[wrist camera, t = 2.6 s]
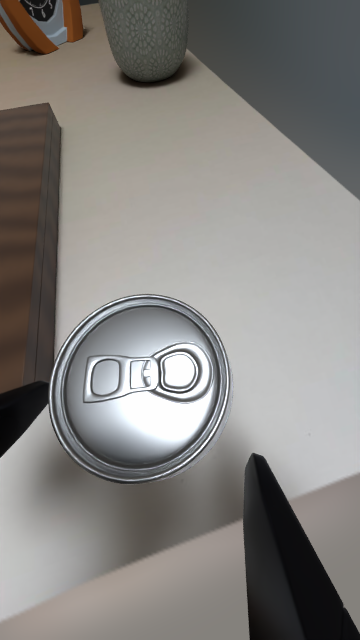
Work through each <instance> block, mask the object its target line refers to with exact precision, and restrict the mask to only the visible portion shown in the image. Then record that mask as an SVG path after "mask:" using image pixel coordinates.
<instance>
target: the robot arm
mask: <svg viewBox="0 0 360 640" xmlns="http://www.w3.org/2000/svg"><path fill="white" fill-rule="evenodd" d="M48 392H49V382H46V381H43V380H39V381H36V382H33V383H30V384H27V385H24V386H21V387H18V388H15V389H12V390H9V391H6V392H3V393H0V458H1V457H2V456H3V455H4V453H5V452H6V451H7V450H8V449H9V448H10V447H11V446H12V445H13V444H14V443H15V442H16V441H17V440H18V439H19V438H20V437H21V436H22V434H23V433H24V432H25V431H26V430H27V429H28V427H29V426H30V425H31V424H32V423H33V421H34V420H35V419H36V418H37V416H38V415H39V414H40V413H41V411H42V410H43V409H44V408H45V407H46V405H47V404H48ZM243 527H244V528H243V530H244V546H245V547H244V548H245V564H246V582H247V599H248V617H249V635H250V640H360V634H359V632H358V630H357V628H356V626H355V624H354V623H353V621H352V619H351V617H350V615H349V613H348V611H347V610H346V608H343V602H342V600H341V599H340V597H339V595H338V593H337V591H336V589H335V587H334V586H333V584H332V582H331V580H330V578H329V576H328V574H327V573H326V571H325V569H324V567H323V565H322V563H321V562H320V560H319V558H318V556H317V554H316V552H315V551H314V548H313V547H312V545H311V543H310V541H309V540H308V537H307V535H306V534H305V532H304V530H303V528H302V526H301V524H300V523H299V521H298V519H297V517H296V515H295V513H294V511H293V510H292V508H291V506H290V504H289V502H288V500H287V498H286V497H285V495H284V493H283V491H282V489H281V487H280V485H279V484H278V482H277V480H276V478H275V476H274V474H273V472H272V471H271V469H270V467H269V465H268V463H267V461H266V459H265V458H264V457H263V456H261V455H258V454H255V453H252V454H251V456H250V458H249V460H248V462H247V465H246V467H245V479H244V509H243Z"/></svg>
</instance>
